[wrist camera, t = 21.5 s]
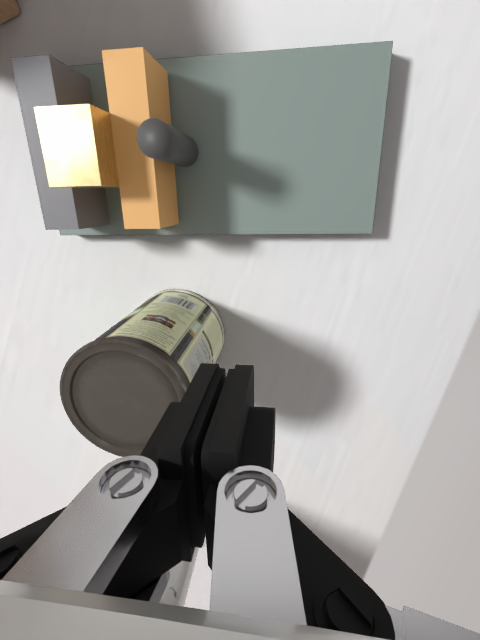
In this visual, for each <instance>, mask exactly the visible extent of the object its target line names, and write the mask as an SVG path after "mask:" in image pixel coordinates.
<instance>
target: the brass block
mask: <svg viewBox="0 0 480 640" xmlns="http://www.w3.org/2000/svg"><path fill="white" fill-rule="evenodd" d="M34 110H35V115H36V120H37V125H38V130H39V136H40V141H41V146H42V151H43V156H44V161H45V167H46V172H47V177H48V182H49V187H64V188H92V189H119V181H118V174H117V166H116V158H115V150H114V143H113V135H112V127H111V119H110V113H108V112H106V111H104V110H102V109H100V108H97V107H95V106H93V105H91V104H78V105H61V106H45V107H34Z"/></svg>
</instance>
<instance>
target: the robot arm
mask: <svg viewBox="0 0 480 640" xmlns="http://www.w3.org/2000/svg"><path fill="white" fill-rule="evenodd" d="M274 444H275V408H268V407H254V366H253V365H236V366H235V369H229V371H228V374H227V376H226V375H225V369H222V368H220V367H219V364H211V363H201V364H200V366H199V368H198V370H197V371H196V373H195V375H194V377H193V379H192V381H191V383H190V385H189V386H188V388H187V390H186V392H185V394H184V396H183V398H182V400H181V401H180V402H171V403H170V404H169V406H168V408H167V409H166V411H165V413H164V415H163V416H162V418H161V420H160V421H159V423H158V425H157V427H156V428H155V430H154V432H153V433H152V435H151V437H150V439H149V440H148V442H147V444H146V446H145V447H144V449H143V451H142V452H141V454H140V456H136V455H133V456H126V457H122V458H119V459H116V460H114V461H112V462H110V463H109V464H107V465H105V466H104V467H103V468H102V469H101V470H100V471H99V472H98V473H97V474H96V475H95V476H94V477H93V478H92V479H91V481H90V482H89V483H88V484H87V485H86V486H85V487H84V488H83V489H82V491H81V492H80V493H79V494H78V495H77V496H76V497H75V498H74V499H73V501H72V502H71V503H70V504H69V505H68V506H67V507H65V508H63V509H61V510H59V511H57V512H55V513H52V514H50V515H48V516H46V517H44V518H42V519H40V520H38V521H36V522H34V523H32V524H30V525H28V526H26V527H24V528H22V529H20V530H18V531H15V532H13V533H11V534H9V535H7V536H5V537H3V538H1V539H0V640H480V634H479V633H476V632H473V631H471V630H468V629H465V628H463V627H460V626H458V625H455V624H452V623H449V622H447V621H444V620H441V619H439V618H436V617H433V616H430V615H428V614H425V613H422V612H420V611H417V610H414V609H412V608H409V607H406V606H404V607H403V612H402V611H399V610H396V609H394V608H391V607H388V606H386V605H385V604H384V602H383V601H382V600H381V599H380V598H379V596H378V595H377V594H376V593H375V592H374V591H373V590H372V589H371V588H370V587H369V586H368V585H367V584H366V583H365V582H364V581H363V580H362V579H361V578H360V577H359V576H358V575H357V574H356V573H355V572H354V571H353V570H352V569H350V568H349V567H348V566H347V565H346V564H345V563H344V562H343V561H342V560H341V559H340V558H339V557H338V556H337V555H336V554H335V553H334V552H333V551H332V550H331V549H329V548H328V547H327V546H326V545H325V544H324V543H323V542H322V541H321V540H320V539H319V538H318V537H317V536H316V535H315V534H314V533H313V532H312V531H311V530H310V529H309V528H307V527H306V526H305V525H304V524H303V523H302V522H301V521H300V520H299V519H298V518H297V517H296V516H295V515H294V514H293V513H292V512H291V511H290V510H289V509H288V508H287V503H286V497H285V491H284V487H283V485H282V482H281V480H280V479H279V478H278V477H277V475H276V474H274V473H273V464H274ZM205 535H206V543H207V557H208V565H209V567H210V568H211V570H212V579H211V595H210V611H208V610H201V609H195V608H188V607H184V603H185V600H186V596H187V592H188V588H189V584H190V580H191V576H192V573H193V569H194V565H195V561H196V557H197V553H198V549H199V548H201V547H202V546H203V543H204V539H205Z"/></svg>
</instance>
